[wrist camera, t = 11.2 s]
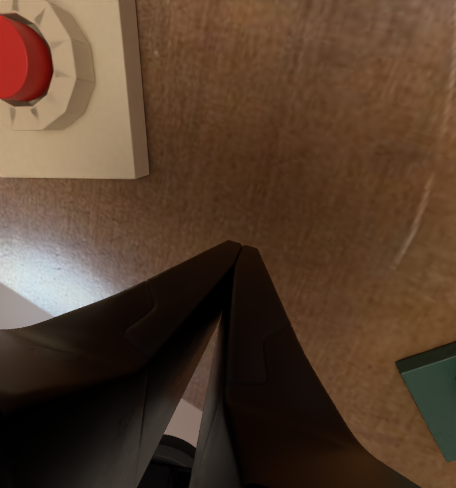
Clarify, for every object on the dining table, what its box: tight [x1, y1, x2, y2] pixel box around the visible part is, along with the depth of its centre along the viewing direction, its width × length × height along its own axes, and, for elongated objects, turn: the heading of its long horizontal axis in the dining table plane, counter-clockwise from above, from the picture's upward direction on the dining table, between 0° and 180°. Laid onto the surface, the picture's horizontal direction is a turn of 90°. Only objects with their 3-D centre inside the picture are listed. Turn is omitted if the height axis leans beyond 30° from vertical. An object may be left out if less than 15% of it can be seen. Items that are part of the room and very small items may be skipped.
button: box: [0, 15, 52, 101], centre depth 17 cm, size 4×4×2 cm
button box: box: [0, 0, 149, 179], centre depth 19 cm, size 10×12×4 cm
